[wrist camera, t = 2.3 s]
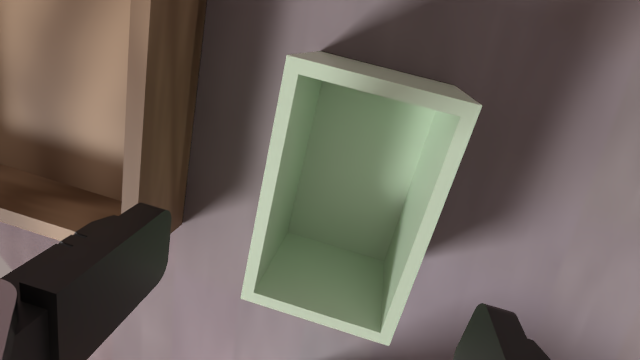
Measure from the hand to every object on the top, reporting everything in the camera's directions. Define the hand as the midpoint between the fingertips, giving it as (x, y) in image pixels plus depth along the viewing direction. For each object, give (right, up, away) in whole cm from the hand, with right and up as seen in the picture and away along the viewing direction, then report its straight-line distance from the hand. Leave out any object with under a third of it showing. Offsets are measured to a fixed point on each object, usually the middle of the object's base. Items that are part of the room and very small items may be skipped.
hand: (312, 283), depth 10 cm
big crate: (-13, +9, +11) cm, 19 cm away
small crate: (+2, +3, +10) cm, 11 cm away
